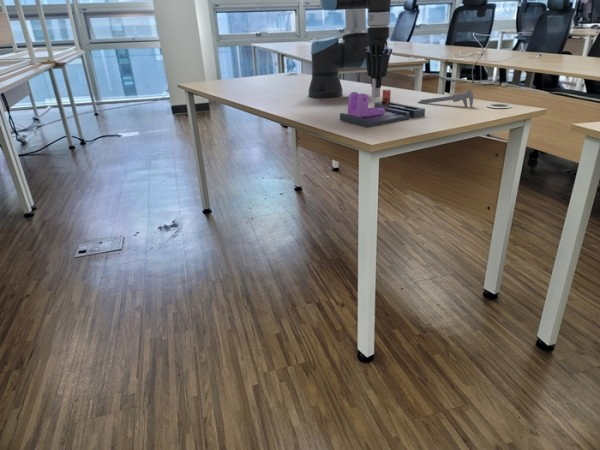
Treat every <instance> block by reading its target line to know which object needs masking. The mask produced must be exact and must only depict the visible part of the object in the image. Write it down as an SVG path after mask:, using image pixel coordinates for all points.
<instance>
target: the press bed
mask: <svg viewBox="0 0 600 450" xmlns="http://www.w3.org/2000/svg"><path fill="white" fill-rule="evenodd" d="M379 108H383V109H385V112H384V114H380V115H371V116H362V117H357V116H353V115H349V114H347V113H345V112H340V113H339V120H340V121H341V122H345V123H350V124H353V125H355V126H360V127H364V128H372V127H375V126H381V125H386V124H390V123H395V122H401V121H406V120H410V117H409V116H410V112H406V111H402V110H397V109H392V108H387V107H382V106H380V107H379Z"/></svg>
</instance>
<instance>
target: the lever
mask: <svg viewBox="0 0 600 450" xmlns="http://www.w3.org/2000/svg"><path fill="white" fill-rule="evenodd" d="M391 93H392V92H391V89H383V90H382V97H381V98H382V104H387V105H390V102H391ZM392 106H395V105H392ZM397 107H400V106H397ZM402 108H405V107H402Z"/></svg>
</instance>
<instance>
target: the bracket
mask: <svg viewBox="0 0 600 450" xmlns="http://www.w3.org/2000/svg"><path fill="white" fill-rule="evenodd" d="M369 98H370V97H369V95H368V94H366V93H359V92H357V91H351V92H350V93H349V94H348V101H347V102H348V103H347V112H346V114H349V115H353V116H357V117H362V116H371V115H380V114H384V112H385V109H383V108H374V107H369V102H370V101H369V100H370V99H369Z"/></svg>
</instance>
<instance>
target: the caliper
mask: <svg viewBox="0 0 600 450" xmlns="http://www.w3.org/2000/svg"><path fill="white" fill-rule="evenodd" d="M468 99H469V101H468ZM448 101H452V102H453V103H455V102H460V101H462V102H463V106H464V107H466V108H467V107H468V102H469V107H473V103H474V92H473V91H472V90H471V89H469V90H468V89H466V90H465V92H461V93H456V94H455V93H454V94H452V95H447V96H441V97H432V98H426V99H425V98H424V99H423V98H422V99H420V101H417V102H416V103H417V104H424V103H425V104H430V103H439V102H448Z"/></svg>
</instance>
